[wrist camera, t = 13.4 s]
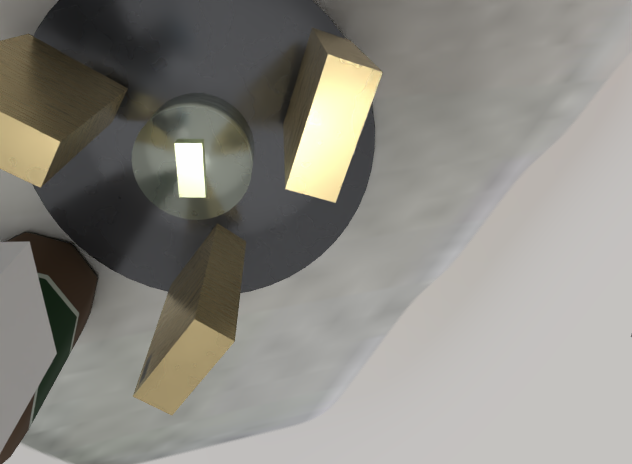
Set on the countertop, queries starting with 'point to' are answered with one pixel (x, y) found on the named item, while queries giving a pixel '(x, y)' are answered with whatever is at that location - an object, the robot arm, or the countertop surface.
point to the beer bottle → (56, 314)
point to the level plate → (195, 64)
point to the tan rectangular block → (194, 322)
